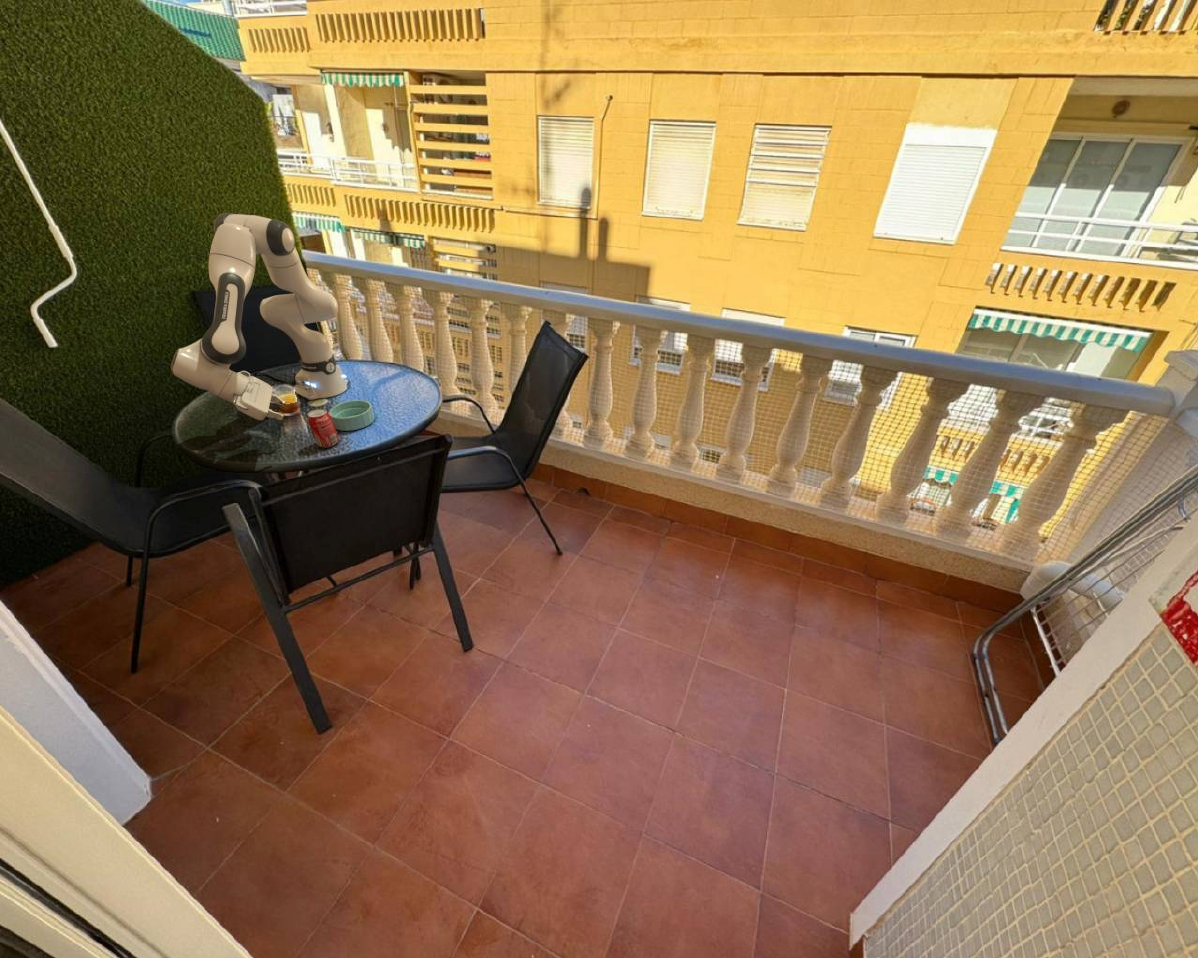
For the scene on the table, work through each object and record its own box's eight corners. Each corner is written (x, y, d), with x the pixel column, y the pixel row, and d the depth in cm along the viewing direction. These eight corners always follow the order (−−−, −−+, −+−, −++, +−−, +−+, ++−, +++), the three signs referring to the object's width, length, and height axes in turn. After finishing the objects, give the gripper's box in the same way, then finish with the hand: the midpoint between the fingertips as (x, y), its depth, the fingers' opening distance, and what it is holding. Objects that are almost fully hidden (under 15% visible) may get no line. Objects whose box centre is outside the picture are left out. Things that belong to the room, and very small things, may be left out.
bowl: (325, 426, 181) (320, 413, 178) (355, 410, 192) (351, 397, 189) (353, 435, 176) (348, 421, 173) (383, 417, 187) (379, 404, 184)
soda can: (322, 439, 174) (310, 408, 167) (342, 438, 175) (331, 407, 168) (314, 449, 169) (301, 418, 162) (335, 448, 169) (324, 417, 162)
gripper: (236, 394, 143) (286, 417, 152) (245, 368, 158) (290, 391, 167) (225, 411, 144) (276, 433, 153) (235, 384, 160) (281, 405, 168)
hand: (283, 411), depth 160 cm, fingers open, 8 cm apart
